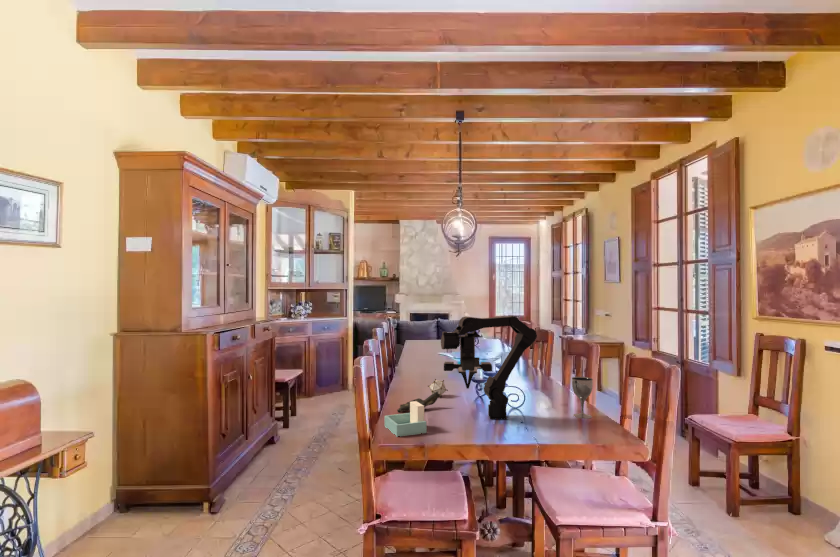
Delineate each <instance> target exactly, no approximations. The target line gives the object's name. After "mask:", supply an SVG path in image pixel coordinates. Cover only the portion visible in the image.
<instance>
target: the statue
mask: <svg viewBox="0 0 840 557" xmlns="http://www.w3.org/2000/svg"><path fill="white" fill-rule="evenodd" d="M438 398H440V394H438V392H436V393H434V394H432V393H431V395H429V396H427V397H426V398H425V399H424V400H423V399H422V398H416V399H412V400H410V401H407V402H405V403H403V404H399V408H397V409H396V411H397V413H400V412H406V411H410V402H412V401H417V402H419V403H420V404H422V405H424V409H425V408H426V407H428V406H431V405H434V404H435V403H436V402H437V400H438Z"/></svg>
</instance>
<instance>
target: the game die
mask: <svg viewBox="0 0 840 557" xmlns="http://www.w3.org/2000/svg"><path fill="white" fill-rule="evenodd" d="M427 387H429V389H430V391H431V392H430V393H431V395H432V394H434V393H436V392H438V394H440V396H439V398H440V399H441V398H442V397H441V396H443V394H444V393H445V392H446V391H447V392H448V391H449V390H448V389H447V388H446V385H445V380H444V379H443V380H437V379H436V378H434V380H433V382H431V384H430V385H427Z"/></svg>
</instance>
